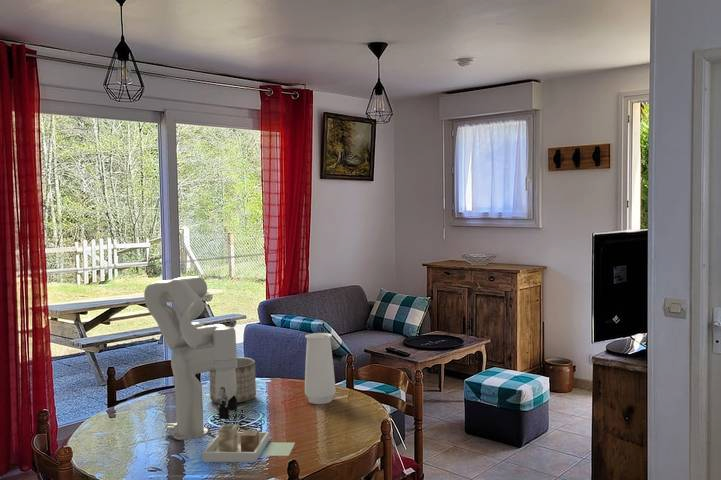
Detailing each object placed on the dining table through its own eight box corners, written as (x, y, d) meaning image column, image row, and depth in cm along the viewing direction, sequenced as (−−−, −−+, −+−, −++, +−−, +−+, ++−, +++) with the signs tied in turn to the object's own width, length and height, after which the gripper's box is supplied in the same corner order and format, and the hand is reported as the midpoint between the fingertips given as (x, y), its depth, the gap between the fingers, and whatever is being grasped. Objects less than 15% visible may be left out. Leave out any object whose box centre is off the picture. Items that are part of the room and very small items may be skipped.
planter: (206, 397, 286) (204, 360, 285) (249, 391, 294) (248, 355, 294) (216, 409, 269) (214, 370, 268) (261, 402, 277) (260, 364, 276)
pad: (261, 457, 216) (261, 455, 216) (269, 444, 228) (269, 442, 227) (288, 457, 215) (288, 455, 215) (295, 444, 227) (295, 442, 227)
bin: (202, 463, 212) (202, 452, 212) (220, 441, 231) (220, 431, 231) (255, 463, 210) (255, 452, 210) (269, 441, 230) (268, 431, 230)
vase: (319, 394, 287) (317, 331, 285) (342, 399, 278) (340, 334, 277) (298, 401, 277) (296, 336, 275) (321, 407, 268) (319, 339, 267)
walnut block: (241, 453, 218) (240, 435, 218) (244, 447, 223) (244, 430, 223) (255, 453, 218) (255, 435, 217) (259, 447, 223) (258, 430, 222)
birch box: (219, 453, 219) (218, 429, 218) (223, 447, 224) (222, 424, 223) (233, 453, 218) (232, 429, 218) (237, 447, 223) (236, 424, 223)
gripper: (222, 358, 228) (224, 407, 229) (206, 370, 211) (209, 422, 212) (243, 358, 228) (245, 406, 228) (229, 369, 211) (232, 422, 211)
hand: (228, 414), depth 220 cm, fingers open, 9 cm apart
